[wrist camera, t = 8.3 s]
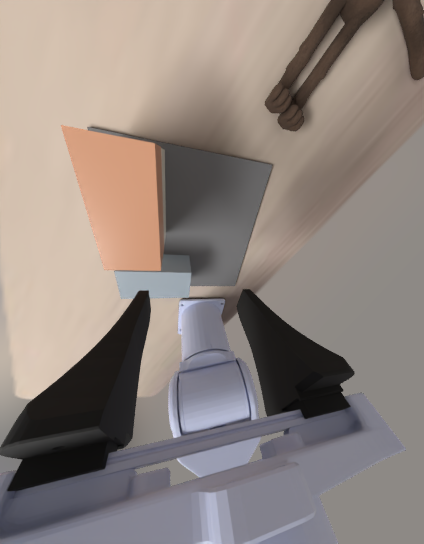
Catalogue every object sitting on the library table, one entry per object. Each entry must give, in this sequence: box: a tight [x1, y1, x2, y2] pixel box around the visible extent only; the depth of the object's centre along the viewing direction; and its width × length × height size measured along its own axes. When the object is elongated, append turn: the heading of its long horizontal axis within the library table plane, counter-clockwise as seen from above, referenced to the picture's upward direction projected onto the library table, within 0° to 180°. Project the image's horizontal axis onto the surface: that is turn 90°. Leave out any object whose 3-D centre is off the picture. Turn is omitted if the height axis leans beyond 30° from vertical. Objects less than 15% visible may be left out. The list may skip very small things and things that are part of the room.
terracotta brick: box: [61, 125, 164, 271], centre depth 11 cm, size 8×4×4 cm, turn 171°
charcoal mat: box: [87, 127, 272, 286], centre depth 20 cm, size 17×17×1 cm
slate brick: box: [114, 254, 191, 299], centre depth 20 cm, size 8×4×4 cm, turn 81°
